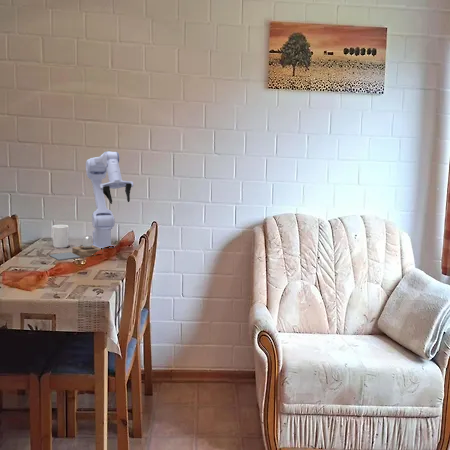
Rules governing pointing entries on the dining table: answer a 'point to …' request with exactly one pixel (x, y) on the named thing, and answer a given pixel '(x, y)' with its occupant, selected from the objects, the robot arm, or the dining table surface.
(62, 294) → the dining table surface
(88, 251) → the socket block
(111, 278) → the dining table surface
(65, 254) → the slate mat
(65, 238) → the white cup
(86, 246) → the steel peg
